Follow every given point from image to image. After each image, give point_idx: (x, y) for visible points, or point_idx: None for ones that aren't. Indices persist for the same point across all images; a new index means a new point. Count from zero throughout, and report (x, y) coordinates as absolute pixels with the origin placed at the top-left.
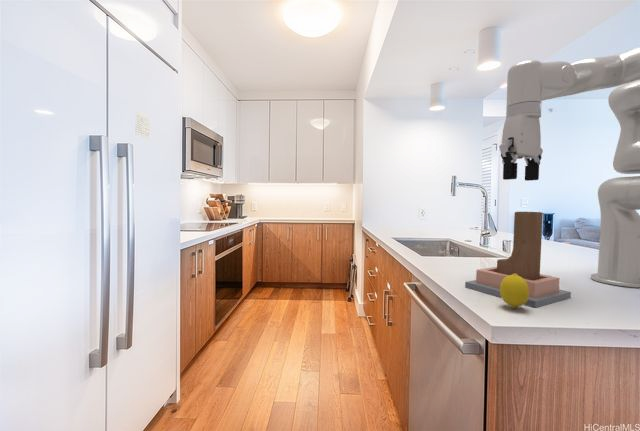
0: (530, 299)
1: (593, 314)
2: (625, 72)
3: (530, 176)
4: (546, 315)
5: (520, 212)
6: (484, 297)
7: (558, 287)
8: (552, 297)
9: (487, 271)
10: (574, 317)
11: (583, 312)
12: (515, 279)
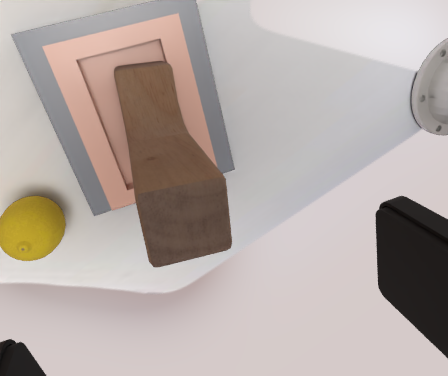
0: (92, 204)
1: None
2: None
3: (400, 268)
4: (82, 244)
5: (142, 224)
6: (18, 134)
7: None
8: None
9: (67, 77)
10: (128, 254)
11: None
12: (14, 257)
